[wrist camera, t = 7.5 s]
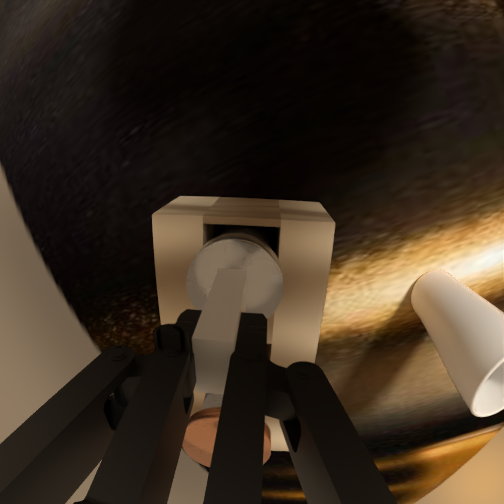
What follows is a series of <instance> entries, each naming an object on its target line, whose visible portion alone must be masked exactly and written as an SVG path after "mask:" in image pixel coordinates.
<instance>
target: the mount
mask: <svg viewBox="0 0 504 504" xmlns="http://www.w3.org/2000/svg"><path fill="white" fill-rule="evenodd" d="M219 224H227V225H248V226H268V227H277V233H276V249H275V254H276V256H277V258H278V260H279V262H280V265H281V268H282V275H283V295H282V299H281V302H280V304H279V306H278V307H277V309H276V310H275V312H274V313H273V314H272V315H271V316H270V317H269V318H268V319H267V357H268V358H269V360H270V361H271V362H273V363H274V364H276V365H279V366H282V367H285V368H287V367H288V366H289V365H291V364H292V363H295V362H298V361H307V362H311V363H314V362H315V357H316V352H317V346H318V341H319V335H320V329H321V323H322V317H323V311H324V305H325V298H326V292H327V285H328V278H329V271H330V263H331V256H332V248H333V239H334V231H335V222H334V221H333V219H332V218H331V217H330V215H329V214H328V213H327V211H326V210H325V209H324V208H323V206H322V205H321V204H320V202H307V201H291V200H274V199H254V198H231V197H199V196H179V197H178V198H176V199H175V200H173V201H172V202H170V203H169V204H167V205H165V206H164V207H162V208H161V209H159V210H158V211H156V212H155V213H153V214H152V226H153V243H154V258H155V270H156V282H157V292H158V302H159V311H160V320H161V325H164V324H175V323H176V322H177V319H178V317H179V315H180V314H181V313H182V312H183V311H185V310H186V309H194V310H196V308H195V307H194V306H193V304H192V302H191V301H190V298H189V296H188V292H187V287H186V278H187V272H188V269H189V267H190V265H191V263H192V261H193V259H194V258H195V256H196V255H197V253H198V252H199V250H200V249H201V248H202V247H203V246H204V245H205V244H206V243H207V242H208V241H210V240H211V239H213V238H215V237H218V236H219ZM193 392H194V403H193V407H192V411H191V414H190V417H191V416H192V415H193V414H194V413H196V412H198V411H200V410H202V406H203V402H204V398H205V394H206V393H202V392H196V384H195V388H194V391H193ZM265 423H266V424H267V425H268V426H269V428H270V430H271V450H273V451H289V449H288V447H287V444H286V441H285V438H284V435H283V432H282V429H281V426H280V423H279V420H278V419H275V418H272V417H268V416H265Z"/></svg>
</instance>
